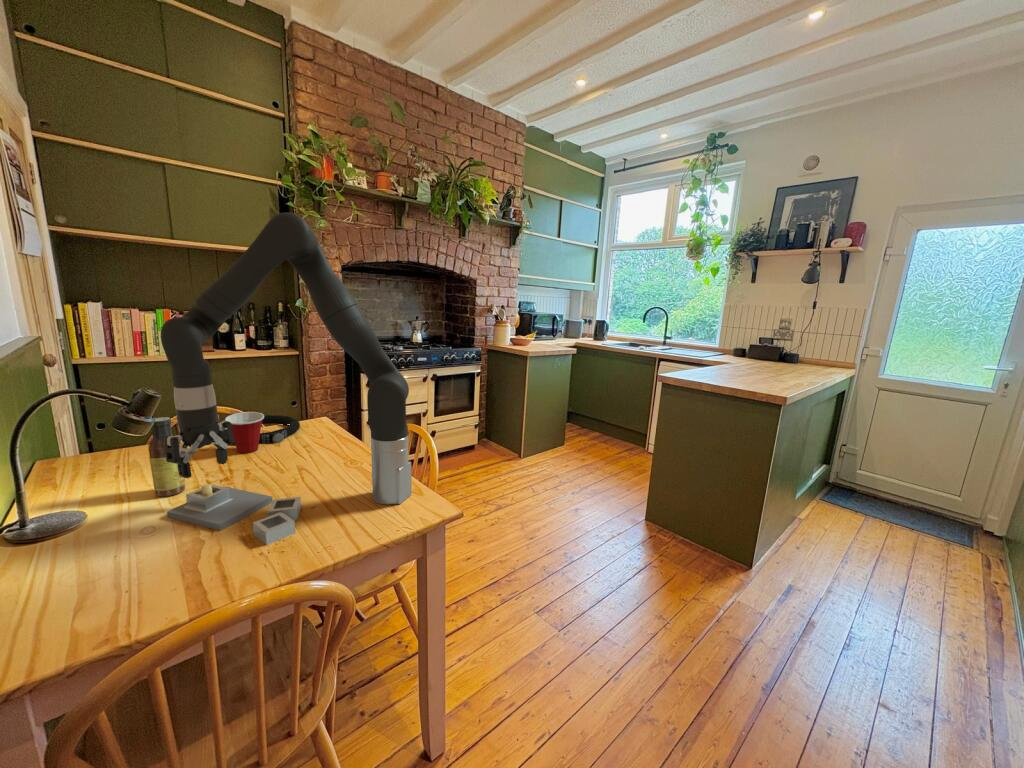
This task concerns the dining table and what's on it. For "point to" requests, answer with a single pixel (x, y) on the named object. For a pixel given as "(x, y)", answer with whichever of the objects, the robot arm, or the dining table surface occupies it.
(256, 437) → the plastic cup
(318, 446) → the dining table surface
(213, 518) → the keeper board
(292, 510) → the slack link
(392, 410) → the robot arm
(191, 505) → the grey square ring
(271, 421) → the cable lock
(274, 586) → the dining table surface
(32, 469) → the dining table surface
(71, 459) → the dining table surface
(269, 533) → the slack link
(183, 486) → the sauce bottle
